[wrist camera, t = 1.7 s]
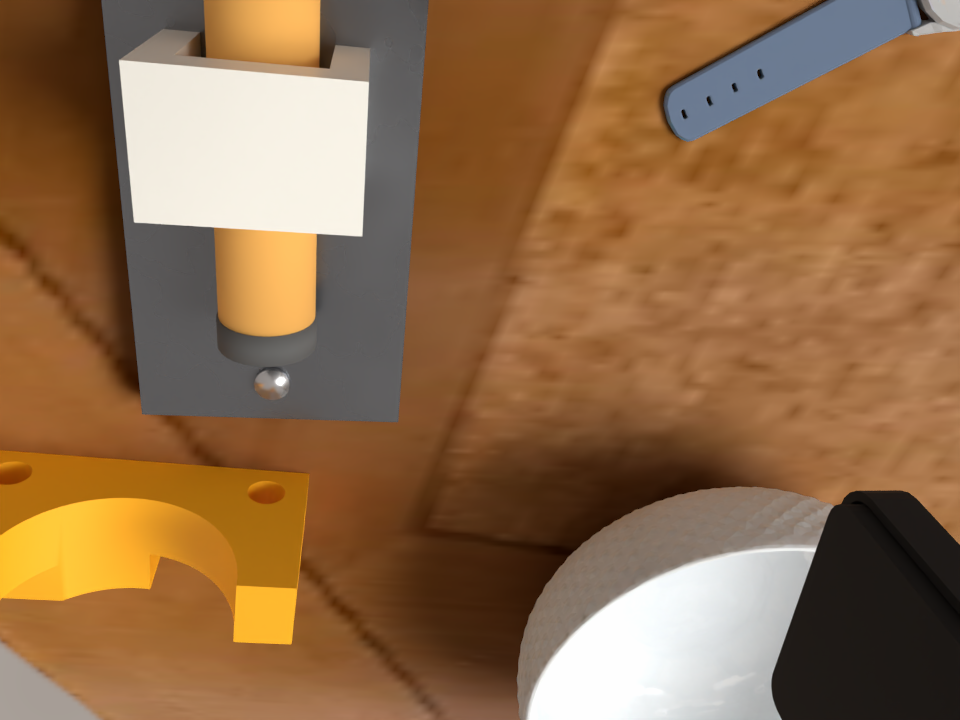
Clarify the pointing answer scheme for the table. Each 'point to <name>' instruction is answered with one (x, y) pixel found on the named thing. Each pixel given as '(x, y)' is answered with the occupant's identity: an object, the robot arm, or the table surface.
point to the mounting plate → (339, 259)
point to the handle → (257, 253)
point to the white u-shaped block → (245, 139)
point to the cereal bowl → (672, 611)
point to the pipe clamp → (153, 531)
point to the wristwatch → (797, 57)
